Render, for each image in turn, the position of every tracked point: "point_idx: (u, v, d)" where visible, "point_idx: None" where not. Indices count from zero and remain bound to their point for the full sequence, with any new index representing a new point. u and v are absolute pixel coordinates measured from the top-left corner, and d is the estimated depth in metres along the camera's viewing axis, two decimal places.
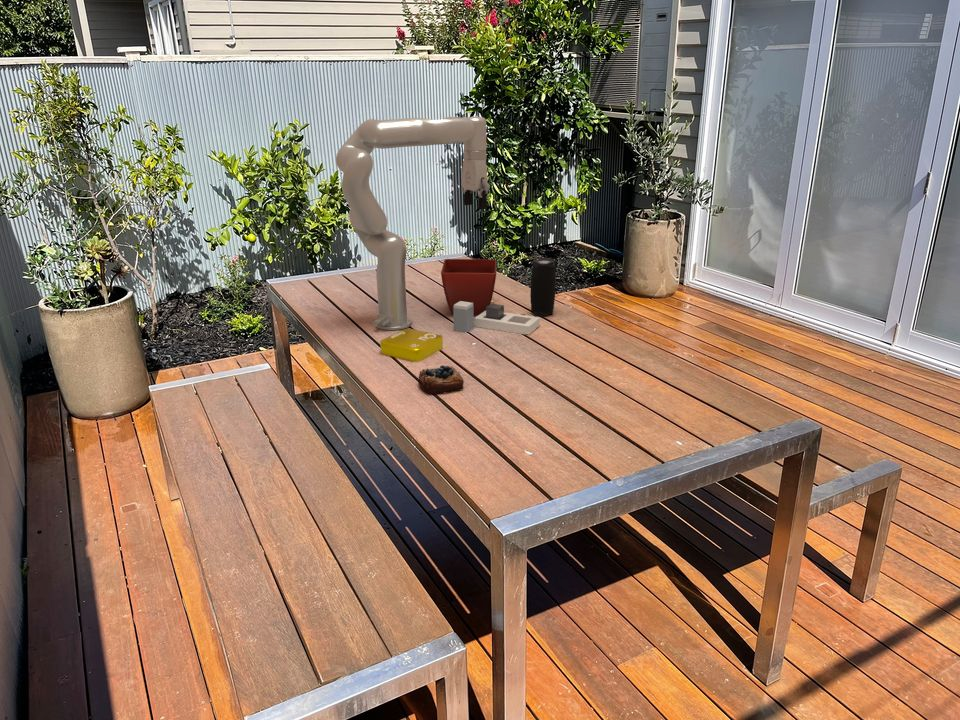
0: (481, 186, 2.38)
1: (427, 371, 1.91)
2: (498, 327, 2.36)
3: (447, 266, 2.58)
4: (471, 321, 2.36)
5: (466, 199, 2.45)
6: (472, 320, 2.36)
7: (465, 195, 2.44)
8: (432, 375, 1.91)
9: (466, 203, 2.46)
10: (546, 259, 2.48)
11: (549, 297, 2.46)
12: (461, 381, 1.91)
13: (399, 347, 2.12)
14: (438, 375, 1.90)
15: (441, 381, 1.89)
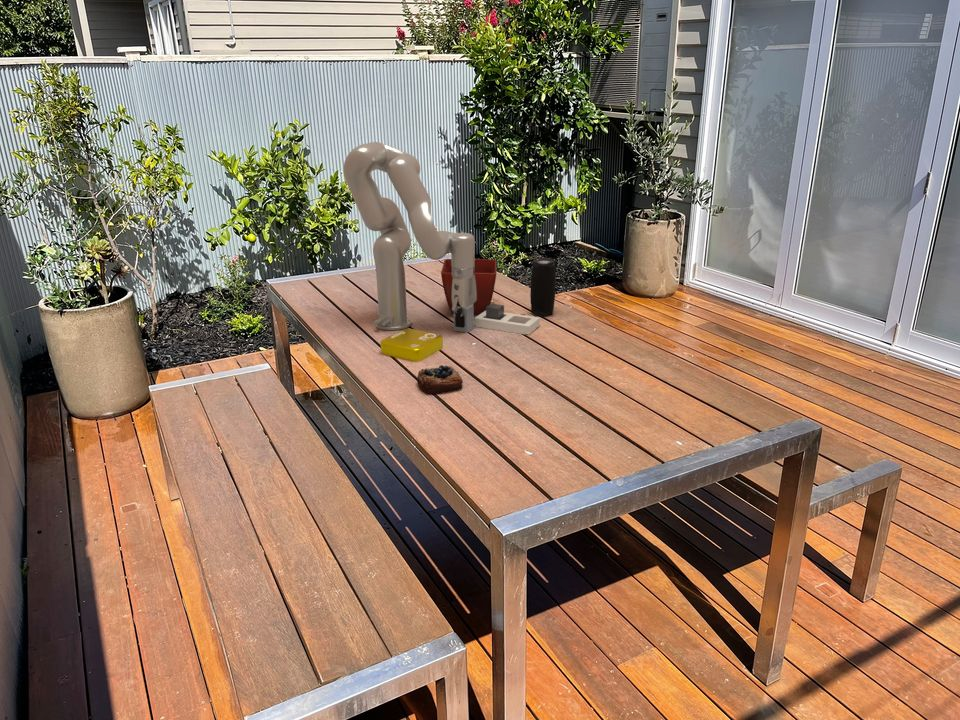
0: None
1: (426, 371, 1.91)
2: (498, 327, 2.36)
3: (447, 266, 2.58)
4: (471, 321, 2.36)
5: None
6: (472, 320, 2.36)
7: None
8: (431, 375, 1.91)
9: None
10: (546, 259, 2.48)
11: (549, 297, 2.46)
12: (460, 381, 1.91)
13: (399, 347, 2.12)
14: (437, 375, 1.90)
15: (440, 381, 1.89)
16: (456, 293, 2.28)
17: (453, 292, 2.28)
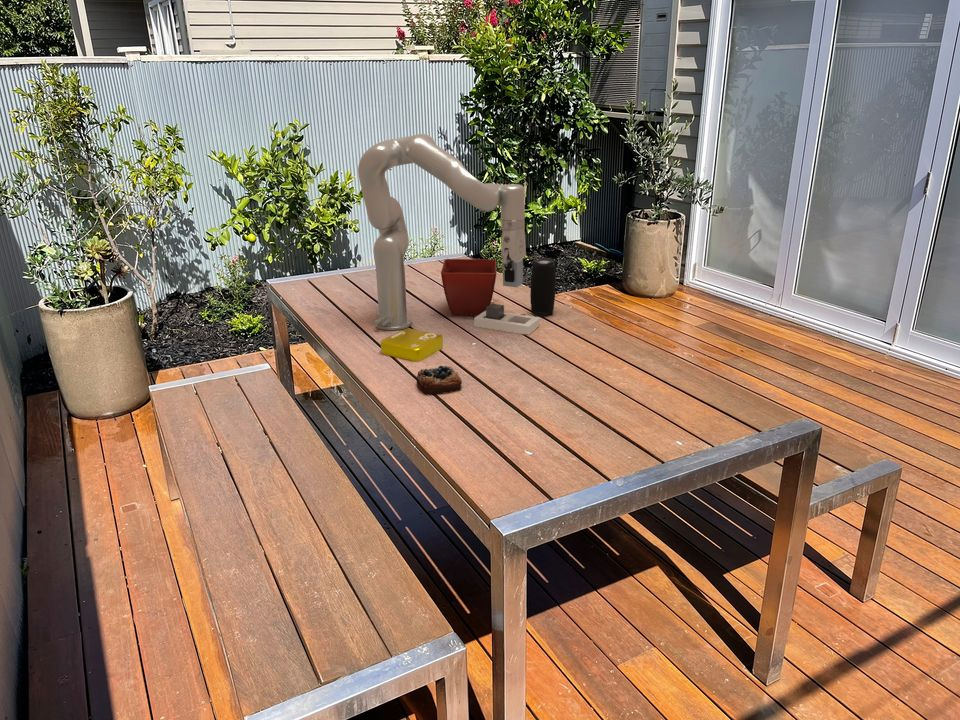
0: None
1: (425, 371, 1.91)
2: (498, 327, 2.36)
3: (447, 266, 2.58)
4: (521, 276, 2.31)
5: None
6: (522, 275, 2.31)
7: None
8: (430, 375, 1.91)
9: None
10: (546, 259, 2.48)
11: (549, 297, 2.46)
12: (459, 381, 1.90)
13: (400, 347, 2.12)
14: (436, 375, 1.90)
15: (439, 381, 1.89)
16: (506, 246, 2.23)
17: (503, 245, 2.23)
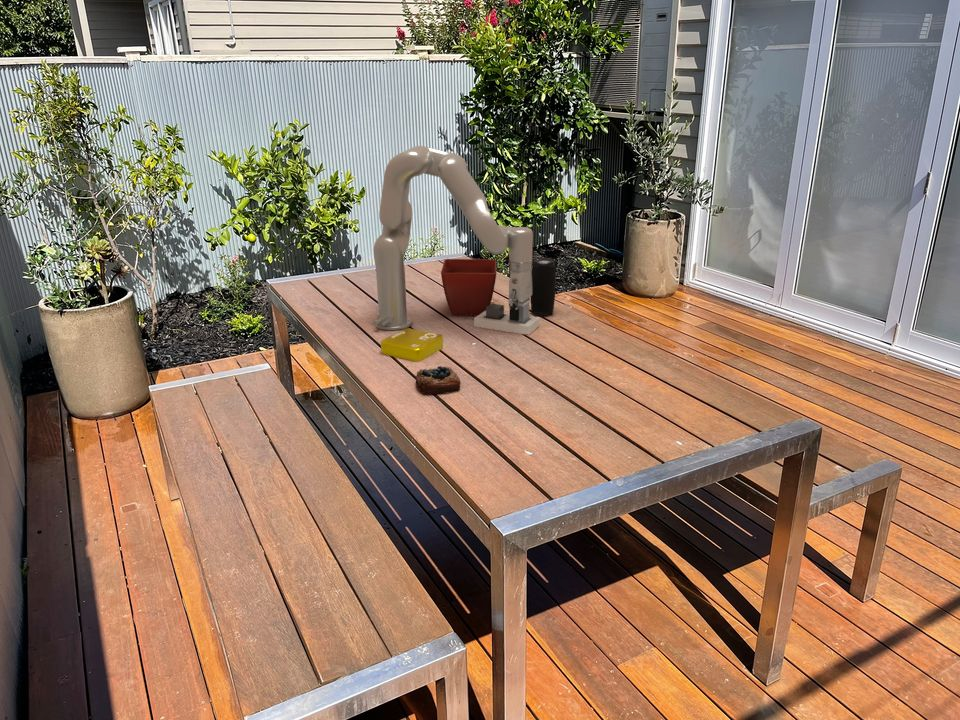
0: None
1: (424, 371, 1.91)
2: (498, 327, 2.36)
3: (447, 266, 2.58)
4: (527, 318, 2.36)
5: None
6: (528, 317, 2.37)
7: None
8: (429, 375, 1.91)
9: None
10: (546, 259, 2.48)
11: (549, 297, 2.46)
12: (457, 382, 1.90)
13: (400, 347, 2.12)
14: (434, 376, 1.90)
15: (437, 382, 1.88)
16: (514, 287, 2.28)
17: (511, 286, 2.28)
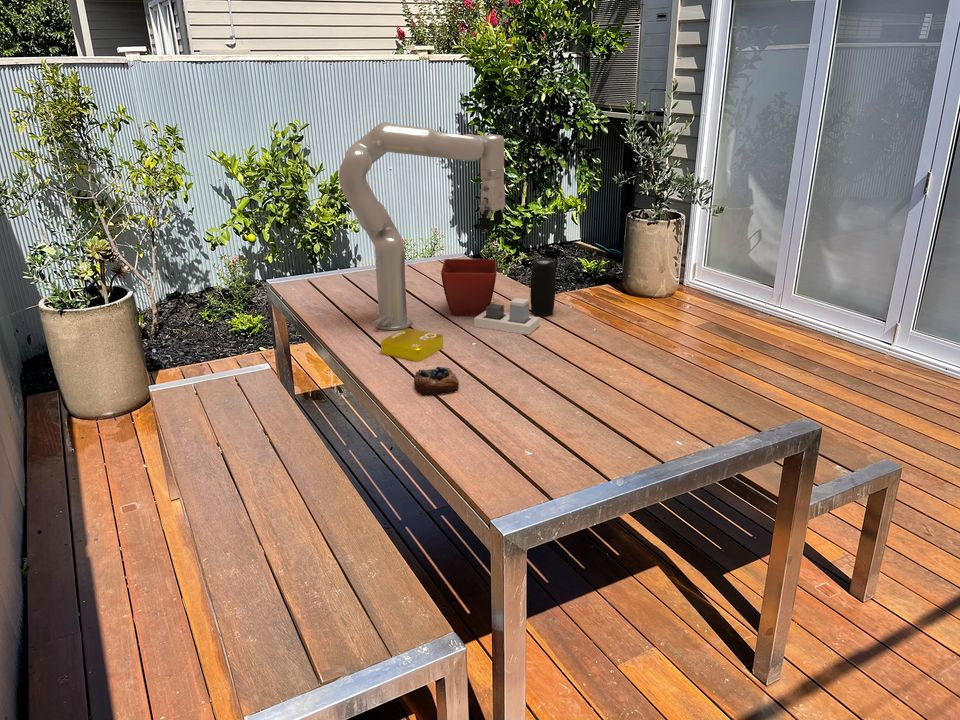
0: None
1: (422, 372, 1.90)
2: (498, 327, 2.36)
3: (447, 266, 2.58)
4: (527, 318, 2.36)
5: None
6: (528, 317, 2.37)
7: None
8: (427, 376, 1.91)
9: None
10: (546, 259, 2.48)
11: (549, 297, 2.46)
12: (455, 383, 1.89)
13: (400, 347, 2.12)
14: (432, 376, 1.90)
15: (435, 382, 1.88)
16: (485, 195, 2.27)
17: (482, 194, 2.27)
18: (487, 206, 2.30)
